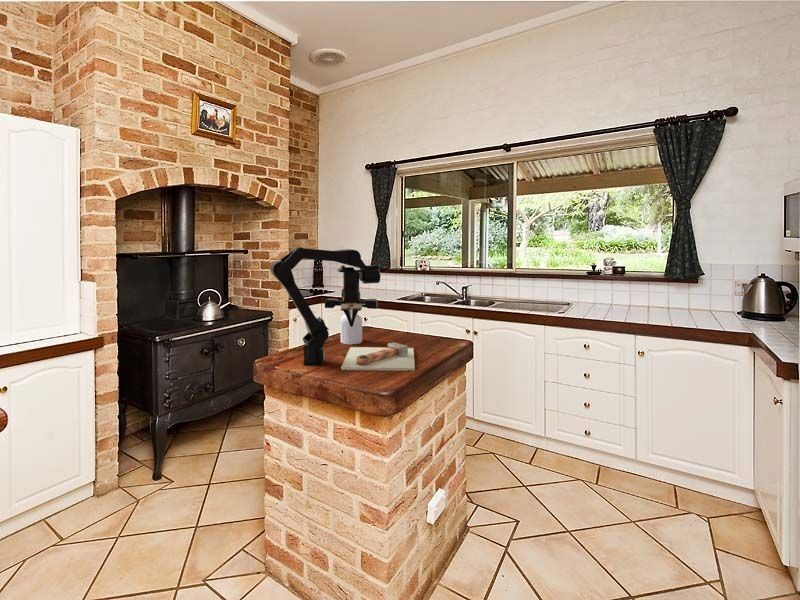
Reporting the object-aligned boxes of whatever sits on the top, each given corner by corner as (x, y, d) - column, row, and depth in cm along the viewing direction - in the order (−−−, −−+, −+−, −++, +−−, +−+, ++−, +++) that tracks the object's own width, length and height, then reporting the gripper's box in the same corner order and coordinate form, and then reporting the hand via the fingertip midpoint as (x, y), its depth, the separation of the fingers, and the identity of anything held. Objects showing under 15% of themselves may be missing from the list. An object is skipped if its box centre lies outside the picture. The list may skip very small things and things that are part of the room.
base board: (341, 369, 153) (341, 367, 153) (350, 349, 179) (350, 347, 179) (414, 370, 153) (414, 367, 153) (413, 350, 178) (413, 347, 178)
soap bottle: (352, 346, 184) (351, 286, 181) (336, 342, 190) (335, 284, 186) (366, 341, 191) (366, 284, 188) (350, 338, 197) (350, 282, 193)
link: (362, 365, 154) (362, 358, 153) (353, 363, 156) (353, 356, 156) (404, 352, 170) (404, 346, 170) (395, 350, 173) (396, 344, 173)
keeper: (401, 360, 165) (401, 347, 164) (387, 355, 170) (387, 343, 170) (407, 358, 167) (407, 346, 166) (393, 354, 173) (393, 342, 172)
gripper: (378, 282, 170) (378, 322, 173) (329, 281, 171) (329, 321, 173) (376, 285, 159) (376, 328, 162) (324, 285, 160) (324, 328, 162)
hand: (351, 326), depth 165 cm, fingers closed
